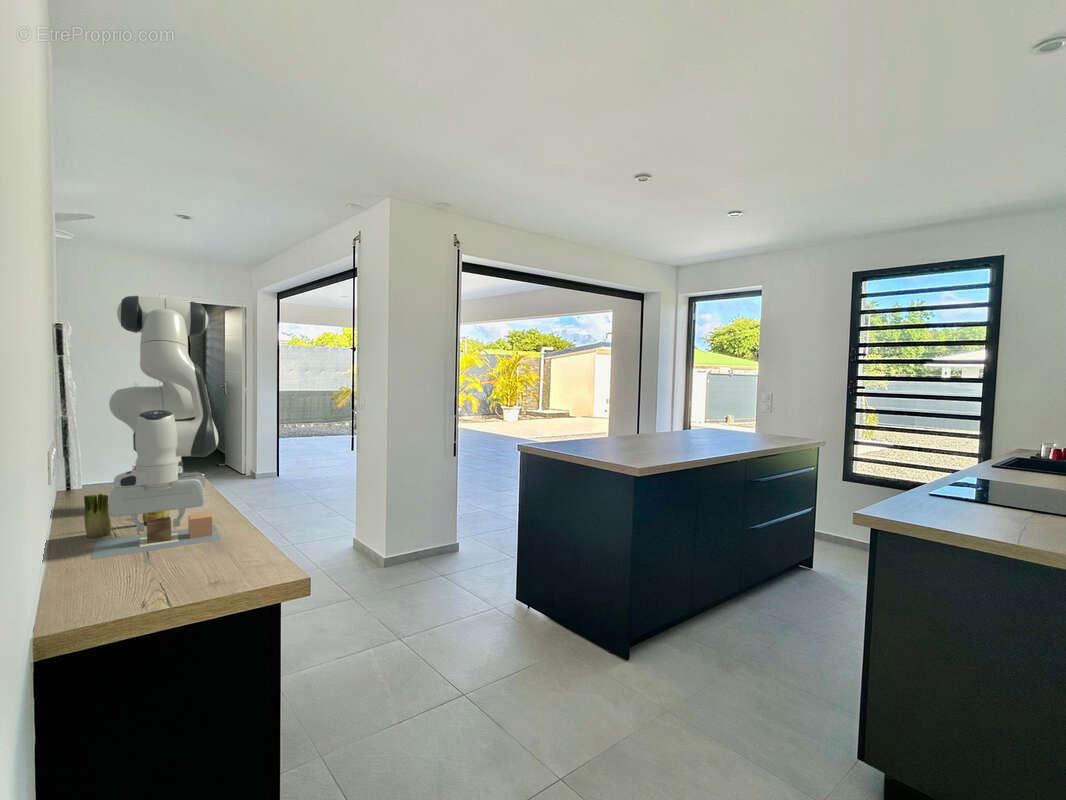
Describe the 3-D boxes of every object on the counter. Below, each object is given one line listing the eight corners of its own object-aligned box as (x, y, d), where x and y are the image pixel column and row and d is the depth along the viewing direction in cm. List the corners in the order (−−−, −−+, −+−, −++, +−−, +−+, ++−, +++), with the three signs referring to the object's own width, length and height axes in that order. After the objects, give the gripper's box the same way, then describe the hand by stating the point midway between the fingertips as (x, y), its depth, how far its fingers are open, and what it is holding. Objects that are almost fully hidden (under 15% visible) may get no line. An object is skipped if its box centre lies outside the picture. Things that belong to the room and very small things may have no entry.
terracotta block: (189, 538, 139) (189, 519, 139) (188, 533, 143) (188, 515, 143) (212, 535, 142) (211, 516, 142) (210, 530, 146) (210, 512, 146)
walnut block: (147, 543, 134) (146, 524, 134) (147, 538, 138) (146, 519, 138) (171, 540, 137) (170, 521, 137) (170, 535, 141) (170, 516, 141)
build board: (91, 563, 124) (90, 558, 124) (96, 544, 137) (96, 540, 137) (221, 543, 139) (221, 539, 139) (215, 528, 152) (215, 524, 152)
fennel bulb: (81, 540, 140) (80, 494, 140) (103, 535, 145) (102, 490, 144) (94, 543, 138) (92, 497, 137) (115, 538, 142) (114, 493, 142)
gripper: (204, 468, 145) (205, 519, 146) (108, 476, 134) (109, 531, 134) (206, 472, 140) (207, 525, 141) (106, 481, 128) (108, 538, 129)
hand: (159, 528), depth 138 cm, fingers open, 6 cm apart
